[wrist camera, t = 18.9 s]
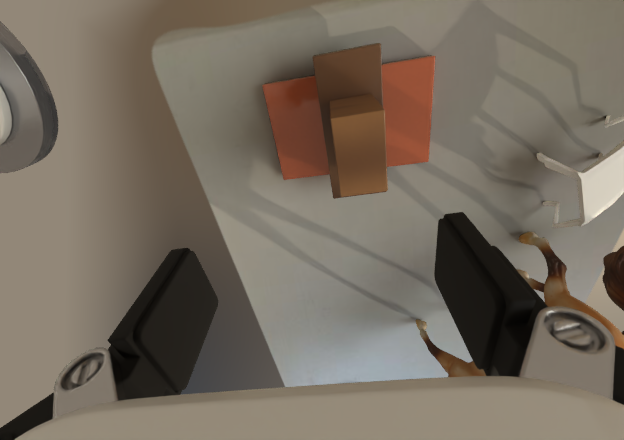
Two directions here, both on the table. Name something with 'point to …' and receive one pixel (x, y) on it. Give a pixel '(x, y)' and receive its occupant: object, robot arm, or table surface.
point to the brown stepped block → (353, 119)
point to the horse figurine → (547, 300)
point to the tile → (309, 130)
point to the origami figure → (592, 183)
